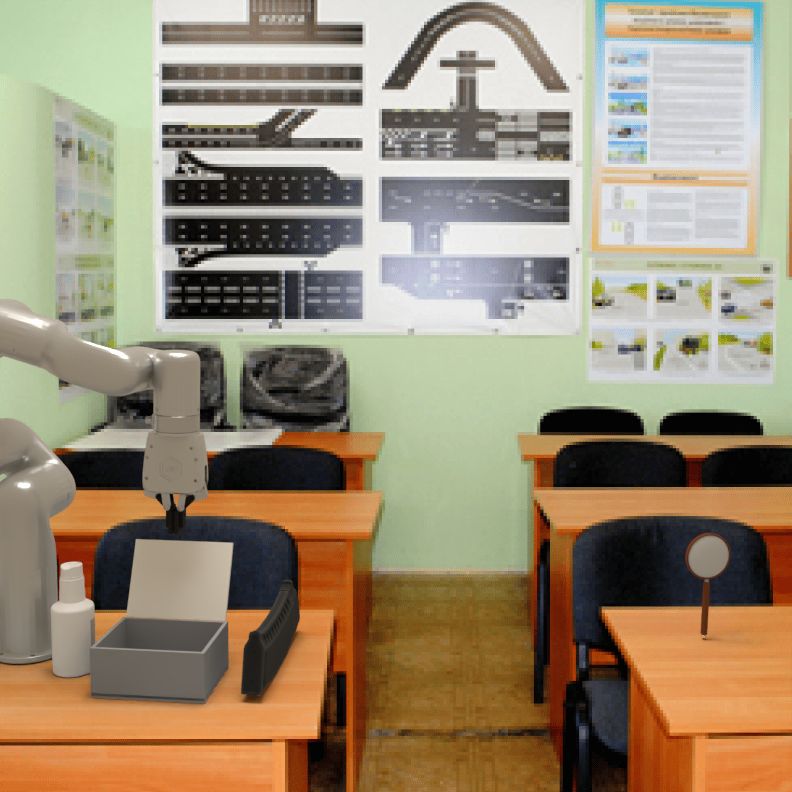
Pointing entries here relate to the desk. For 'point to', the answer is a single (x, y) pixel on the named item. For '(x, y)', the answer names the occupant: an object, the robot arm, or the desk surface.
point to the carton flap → (180, 579)
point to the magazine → (270, 642)
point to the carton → (159, 660)
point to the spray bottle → (72, 624)
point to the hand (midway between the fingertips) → (175, 531)
